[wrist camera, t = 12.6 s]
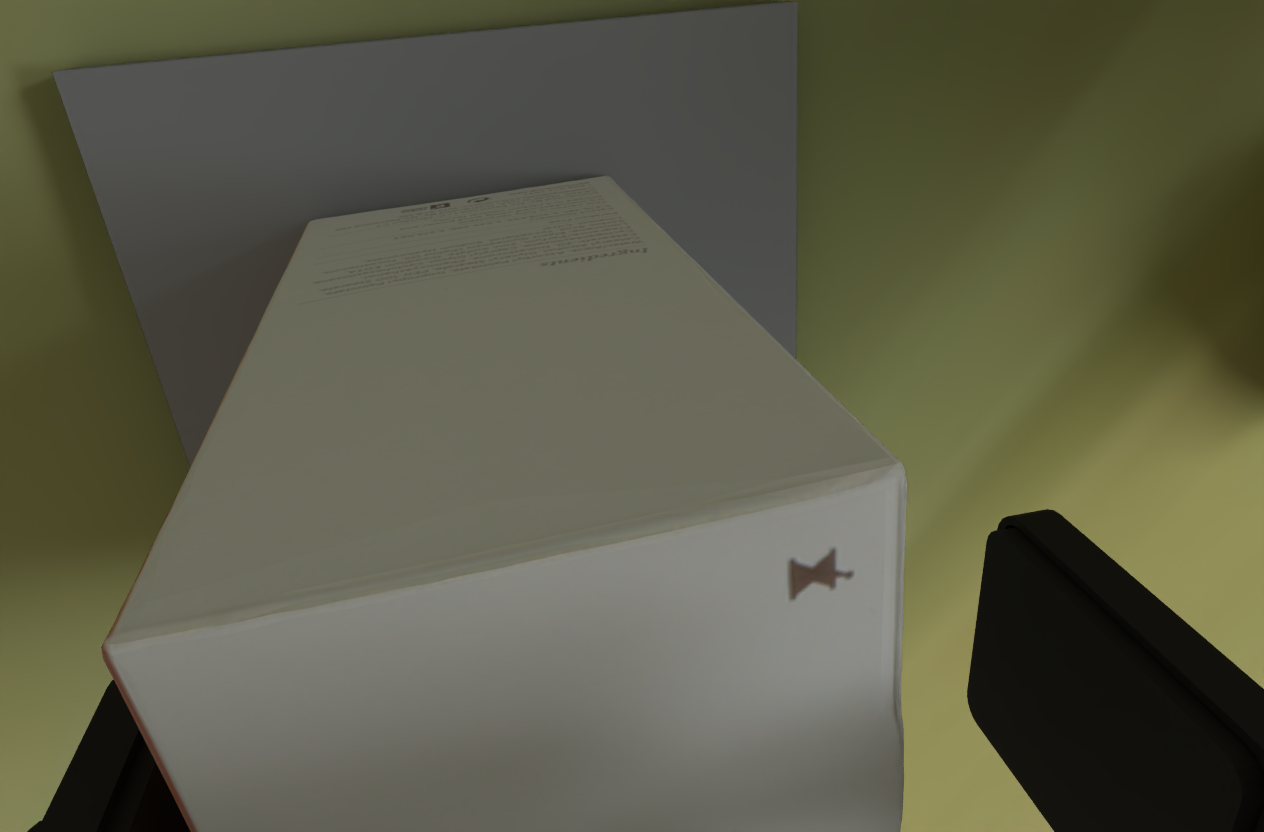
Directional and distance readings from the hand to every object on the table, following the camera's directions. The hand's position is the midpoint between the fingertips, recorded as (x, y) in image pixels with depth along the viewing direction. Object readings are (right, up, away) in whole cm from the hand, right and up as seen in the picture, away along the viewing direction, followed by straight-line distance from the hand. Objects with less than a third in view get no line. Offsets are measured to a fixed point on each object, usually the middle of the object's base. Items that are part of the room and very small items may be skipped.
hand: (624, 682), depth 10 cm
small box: (-3, +4, +9) cm, 11 cm away
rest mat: (-3, +5, +10) cm, 12 cm away
